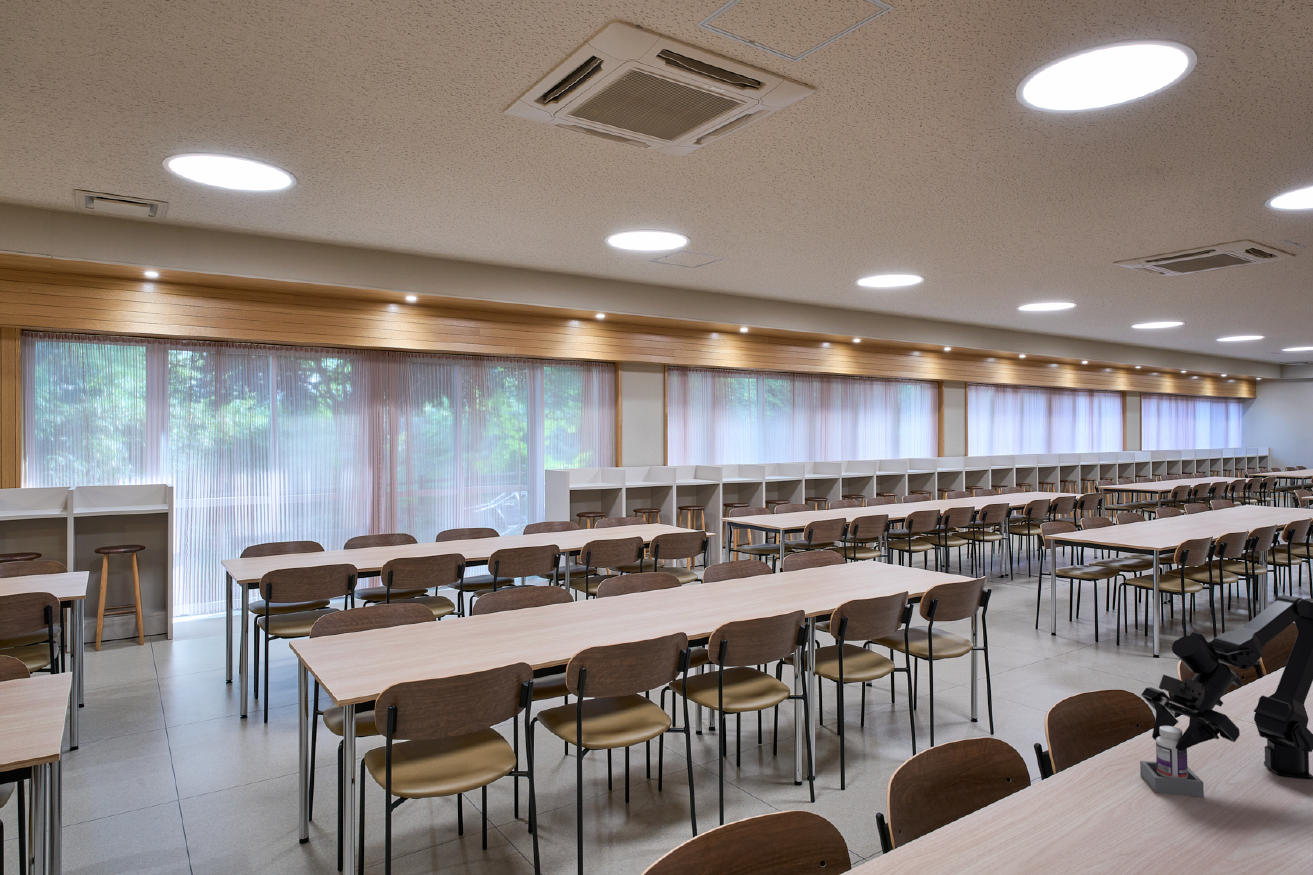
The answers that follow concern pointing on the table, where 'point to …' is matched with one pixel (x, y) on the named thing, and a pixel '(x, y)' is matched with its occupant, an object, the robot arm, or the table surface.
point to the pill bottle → (1170, 754)
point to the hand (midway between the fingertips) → (1165, 743)
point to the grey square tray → (1171, 781)
